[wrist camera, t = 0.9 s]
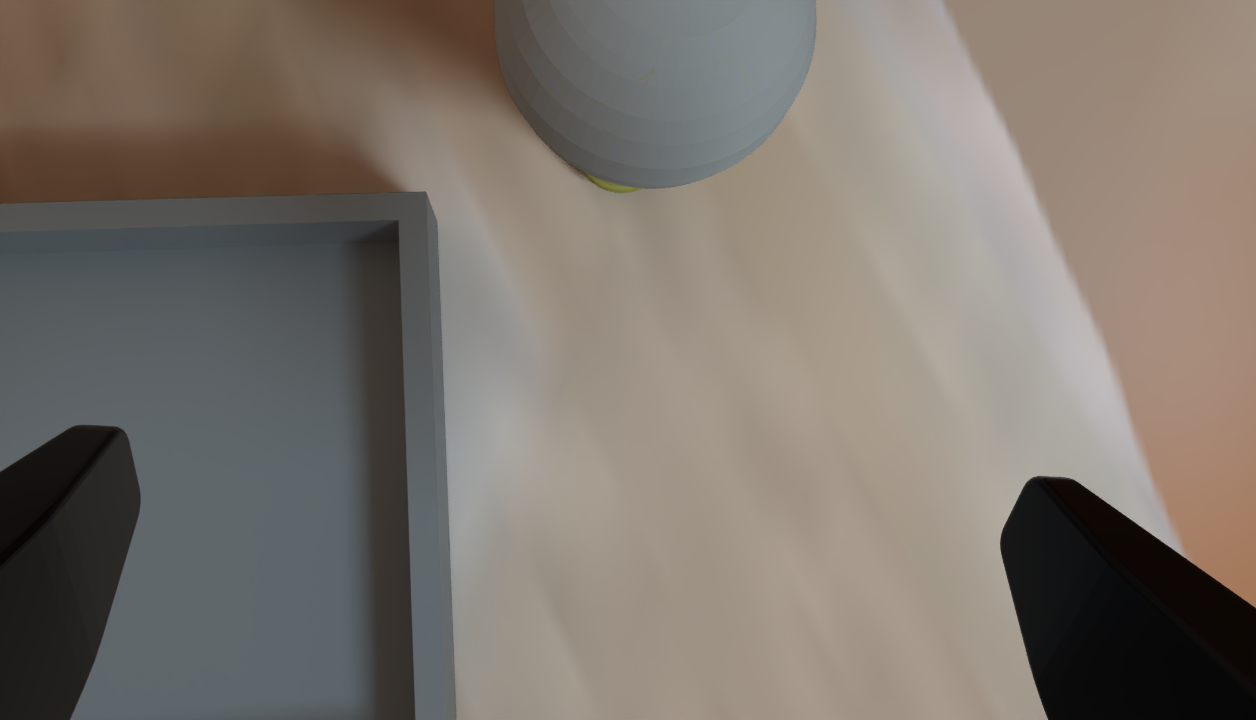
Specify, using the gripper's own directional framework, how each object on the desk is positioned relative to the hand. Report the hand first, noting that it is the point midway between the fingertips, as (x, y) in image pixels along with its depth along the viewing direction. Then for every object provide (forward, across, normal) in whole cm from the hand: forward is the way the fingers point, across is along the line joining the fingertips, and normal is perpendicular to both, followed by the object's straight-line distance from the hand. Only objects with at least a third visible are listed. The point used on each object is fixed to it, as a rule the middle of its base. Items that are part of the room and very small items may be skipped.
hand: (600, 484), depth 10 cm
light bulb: (+15, -1, +3) cm, 15 cm away
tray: (+9, +9, +10) cm, 16 cm away
